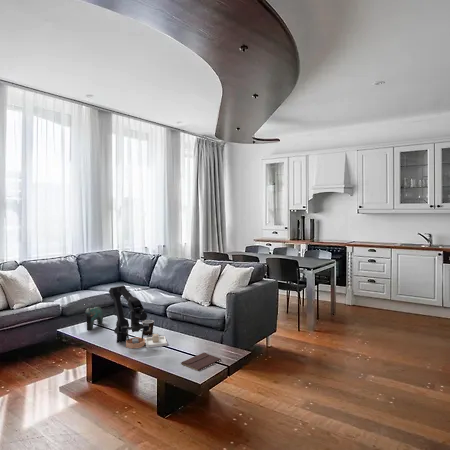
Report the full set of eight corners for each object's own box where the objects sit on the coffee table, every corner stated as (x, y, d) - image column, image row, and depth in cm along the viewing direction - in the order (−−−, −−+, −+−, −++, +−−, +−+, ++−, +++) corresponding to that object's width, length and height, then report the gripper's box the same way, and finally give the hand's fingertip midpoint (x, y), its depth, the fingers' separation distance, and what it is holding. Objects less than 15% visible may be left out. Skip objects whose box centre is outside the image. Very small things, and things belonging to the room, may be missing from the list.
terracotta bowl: (126, 349, 246) (126, 344, 245) (126, 343, 258) (126, 338, 258) (145, 347, 249) (145, 342, 249) (144, 341, 261) (144, 336, 261)
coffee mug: (155, 332, 279) (155, 320, 279) (152, 336, 270) (151, 323, 270) (140, 332, 280) (140, 319, 280) (136, 336, 272) (136, 323, 271)
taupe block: (152, 342, 257) (152, 336, 257) (152, 340, 262) (152, 334, 262) (158, 341, 258) (158, 335, 258) (158, 339, 263) (157, 333, 263)
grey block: (132, 347, 248) (132, 341, 248) (132, 345, 253) (132, 338, 252) (138, 346, 249) (138, 340, 249) (138, 344, 254) (138, 338, 254)
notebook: (220, 361, 227) (220, 358, 227) (198, 372, 212) (198, 368, 212) (203, 355, 237) (203, 352, 237) (181, 365, 222) (181, 361, 222)
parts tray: (146, 348, 248) (146, 345, 248) (145, 340, 262) (145, 337, 262) (167, 346, 252) (166, 343, 252) (164, 338, 266) (164, 335, 266)
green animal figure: (90, 331, 285) (90, 305, 284) (83, 330, 286) (82, 305, 285) (104, 323, 304) (104, 299, 303) (97, 322, 305) (97, 299, 305)
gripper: (120, 322, 240) (121, 345, 241) (149, 320, 245) (150, 343, 246) (121, 317, 251) (121, 340, 251) (148, 315, 256) (148, 337, 256)
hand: (135, 340), depth 251 cm, fingers open, 9 cm apart
